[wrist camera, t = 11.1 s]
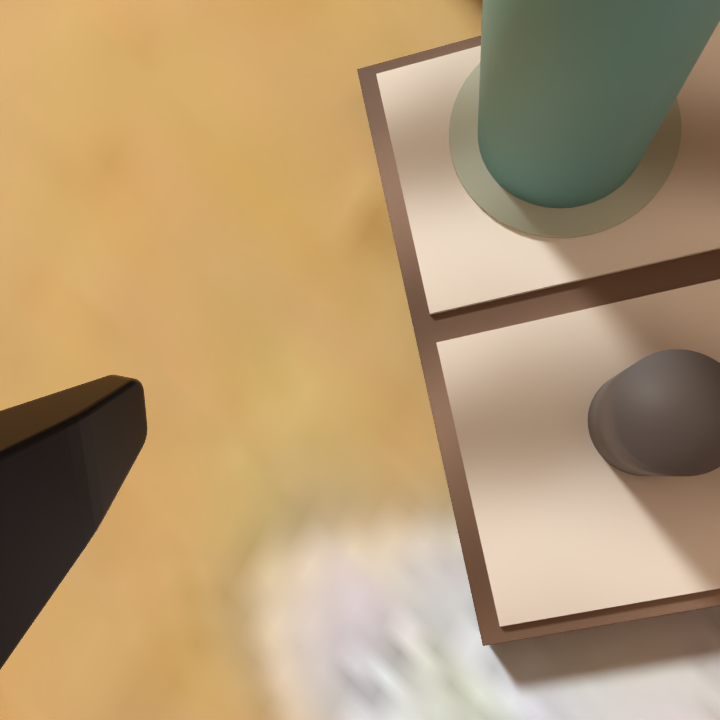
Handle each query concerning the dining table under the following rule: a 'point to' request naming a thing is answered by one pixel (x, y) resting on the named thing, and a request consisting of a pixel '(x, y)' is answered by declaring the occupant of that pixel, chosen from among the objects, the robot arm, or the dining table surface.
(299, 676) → the dining table surface
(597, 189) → the teal pin
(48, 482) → the robot arm
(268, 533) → the dining table surface
